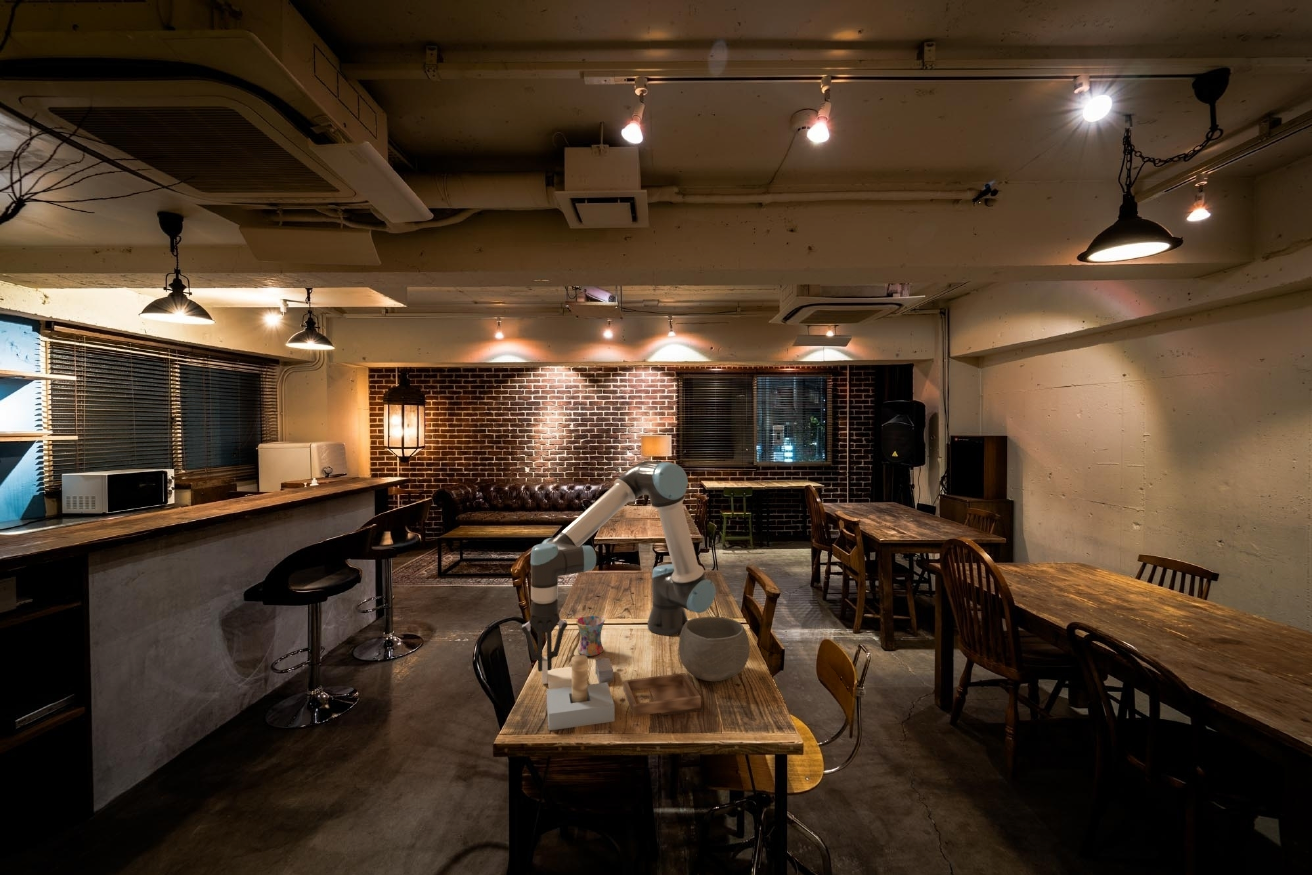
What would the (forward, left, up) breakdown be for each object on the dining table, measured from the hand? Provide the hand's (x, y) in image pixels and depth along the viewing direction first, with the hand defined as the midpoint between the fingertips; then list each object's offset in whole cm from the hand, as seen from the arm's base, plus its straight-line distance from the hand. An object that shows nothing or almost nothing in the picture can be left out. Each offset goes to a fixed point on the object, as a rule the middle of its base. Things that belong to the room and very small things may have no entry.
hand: (544, 681), depth 148 cm
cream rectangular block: (-6, 0, -2) cm, 6 cm away
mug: (-16, -21, -2) cm, 26 cm away
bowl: (-49, +6, -2) cm, 49 cm away
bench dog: (-17, 0, -2) cm, 17 cm away
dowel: (-8, +18, -1) cm, 20 cm away
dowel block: (-8, +18, -2) cm, 20 cm away
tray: (-30, +16, -2) cm, 34 cm away
